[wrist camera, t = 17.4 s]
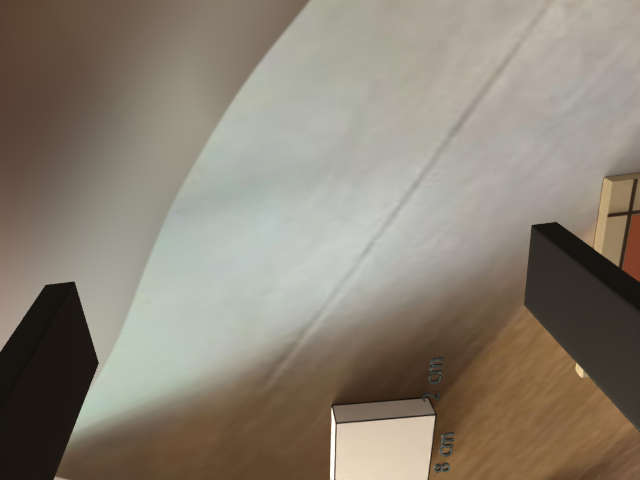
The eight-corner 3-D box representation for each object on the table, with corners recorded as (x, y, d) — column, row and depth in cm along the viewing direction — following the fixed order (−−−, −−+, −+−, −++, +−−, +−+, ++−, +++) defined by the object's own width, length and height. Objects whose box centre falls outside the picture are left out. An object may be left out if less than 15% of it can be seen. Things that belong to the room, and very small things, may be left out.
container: (332, 358, 50) (337, 376, 47) (454, 349, 51) (464, 367, 49) (329, 515, 58) (333, 538, 56) (433, 504, 59) (441, 526, 57)
